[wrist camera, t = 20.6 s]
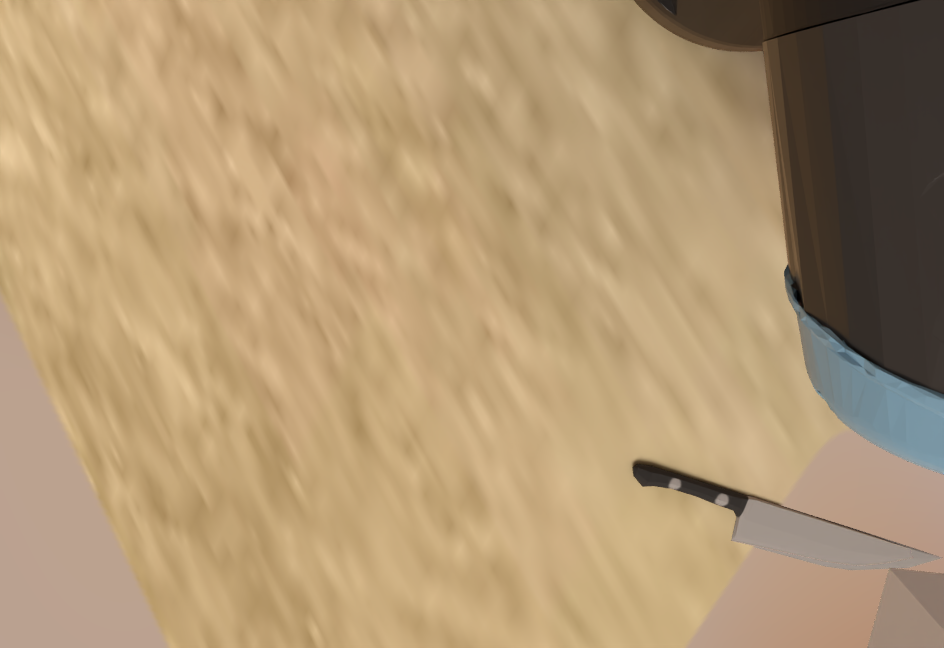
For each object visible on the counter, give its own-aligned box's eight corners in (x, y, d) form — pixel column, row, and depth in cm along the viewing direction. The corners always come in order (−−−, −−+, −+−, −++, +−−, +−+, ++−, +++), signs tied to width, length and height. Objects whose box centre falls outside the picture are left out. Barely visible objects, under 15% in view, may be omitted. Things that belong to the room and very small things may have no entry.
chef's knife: (915, 595, 46) (940, 555, 45) (925, 608, 44) (951, 566, 44) (614, 500, 44) (633, 456, 43) (617, 510, 43) (637, 465, 42)
